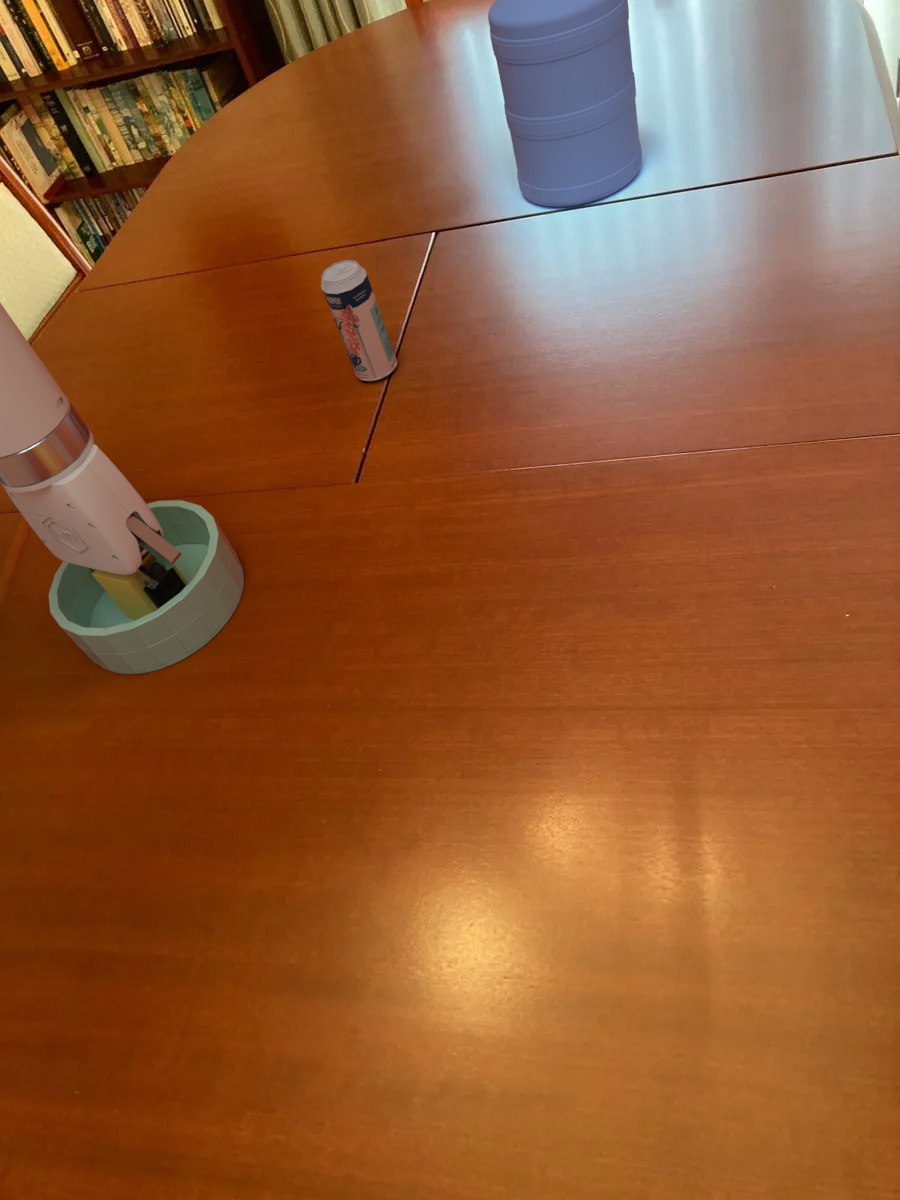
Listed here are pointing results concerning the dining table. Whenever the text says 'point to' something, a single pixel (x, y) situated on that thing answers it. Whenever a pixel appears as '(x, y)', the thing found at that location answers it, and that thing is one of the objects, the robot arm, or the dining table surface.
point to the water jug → (568, 96)
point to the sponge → (130, 590)
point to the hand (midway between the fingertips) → (156, 598)
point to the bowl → (173, 624)
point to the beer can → (358, 320)
